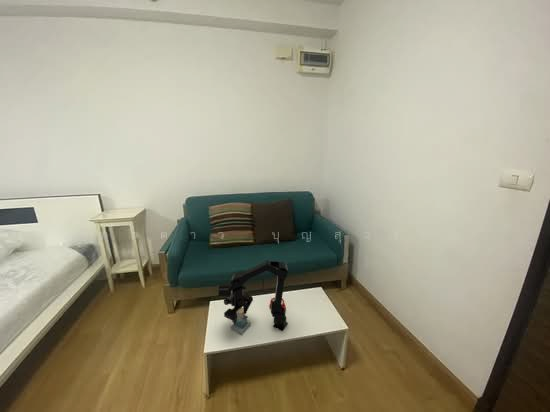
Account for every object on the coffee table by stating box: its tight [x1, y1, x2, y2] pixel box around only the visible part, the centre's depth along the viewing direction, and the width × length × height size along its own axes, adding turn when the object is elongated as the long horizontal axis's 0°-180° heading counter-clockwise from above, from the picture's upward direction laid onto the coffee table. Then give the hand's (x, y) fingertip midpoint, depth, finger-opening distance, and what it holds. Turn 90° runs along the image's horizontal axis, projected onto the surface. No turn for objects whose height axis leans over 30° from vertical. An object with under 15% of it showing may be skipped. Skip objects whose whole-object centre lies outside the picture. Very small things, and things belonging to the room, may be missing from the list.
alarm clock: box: [268, 296, 287, 312], centre depth 146 cm, size 10×6×15 cm
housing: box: [232, 312, 249, 329], centre depth 131 cm, size 5×7×5 cm
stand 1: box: [231, 306, 245, 315], centre depth 142 cm, size 8×8×2 cm
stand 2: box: [230, 320, 252, 336], centre depth 132 cm, size 8×8×2 cm
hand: (240, 318), depth 130 cm, fingers open, 9 cm apart
